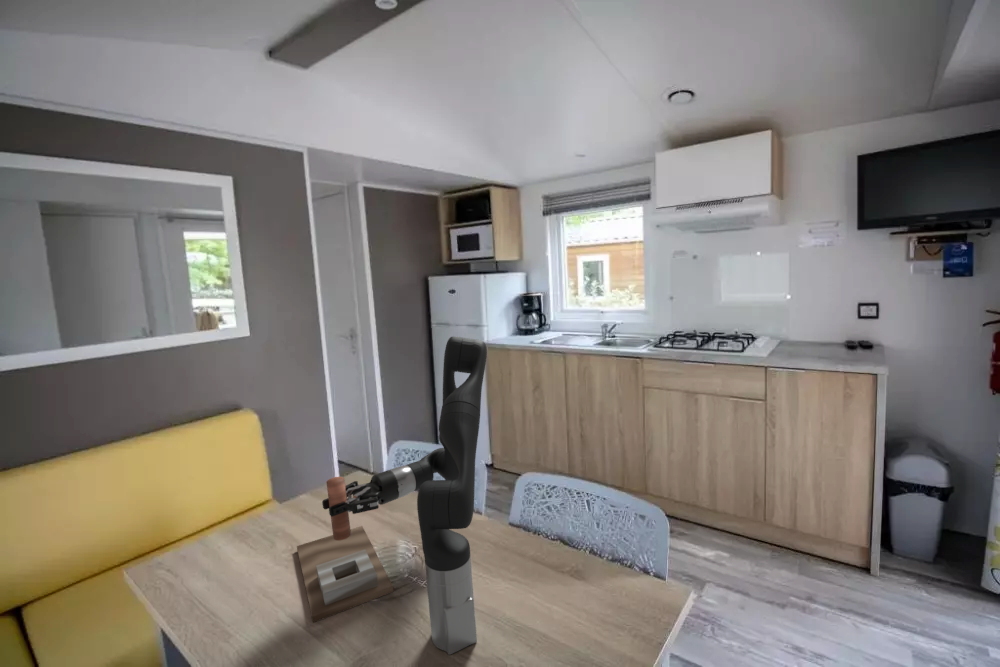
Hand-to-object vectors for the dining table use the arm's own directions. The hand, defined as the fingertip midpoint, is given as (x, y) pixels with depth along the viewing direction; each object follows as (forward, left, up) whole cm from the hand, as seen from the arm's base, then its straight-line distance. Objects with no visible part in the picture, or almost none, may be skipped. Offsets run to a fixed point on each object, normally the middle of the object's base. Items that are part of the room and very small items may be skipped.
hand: (326, 508), depth 110 cm
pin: (+1, -3, -8) cm, 8 cm away
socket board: (+8, -3, -21) cm, 23 cm away
